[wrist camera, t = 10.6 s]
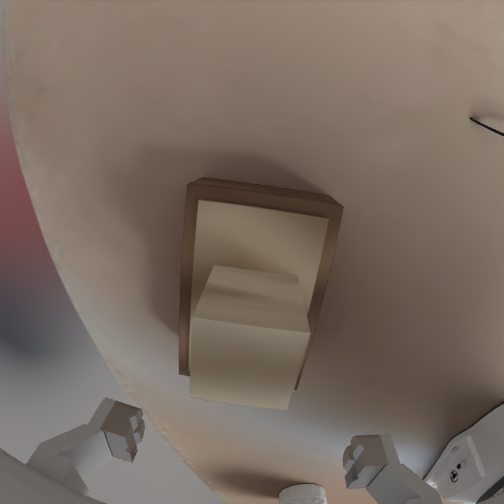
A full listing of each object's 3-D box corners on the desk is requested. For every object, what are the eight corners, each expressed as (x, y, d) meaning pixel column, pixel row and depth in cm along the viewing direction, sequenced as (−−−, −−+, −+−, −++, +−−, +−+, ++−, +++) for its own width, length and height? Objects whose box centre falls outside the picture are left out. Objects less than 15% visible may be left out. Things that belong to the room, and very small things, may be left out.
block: (282, 344, 20) (287, 409, 14) (208, 333, 20) (190, 397, 14) (297, 276, 18) (310, 332, 13) (214, 264, 18) (192, 316, 13)
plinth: (293, 358, 25) (296, 392, 21) (189, 344, 25) (178, 376, 21) (329, 195, 21) (344, 207, 17) (201, 177, 21) (186, 184, 17)
